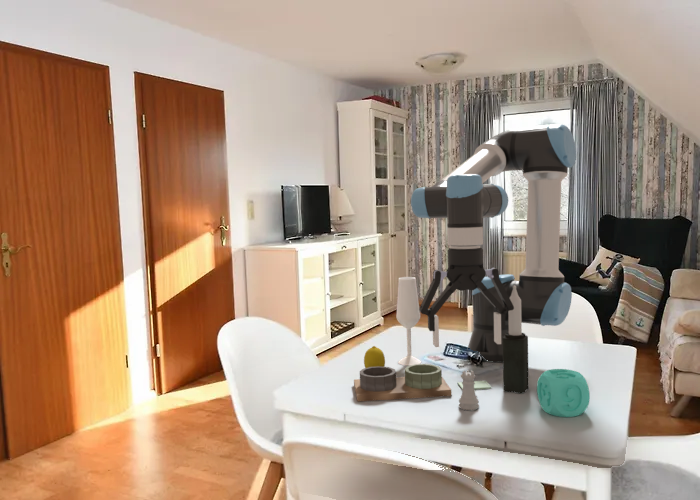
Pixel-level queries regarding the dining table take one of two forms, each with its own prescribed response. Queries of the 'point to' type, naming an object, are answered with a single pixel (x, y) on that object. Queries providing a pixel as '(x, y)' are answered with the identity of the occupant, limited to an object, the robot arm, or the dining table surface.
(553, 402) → the decorative dice
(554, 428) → the dining table surface
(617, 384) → the dining table surface
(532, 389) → the dining table surface
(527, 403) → the dining table surface
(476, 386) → the card
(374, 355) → the lemon
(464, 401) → the rook chess piece
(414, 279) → the champagne flute
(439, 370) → the double bowl stand
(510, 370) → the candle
